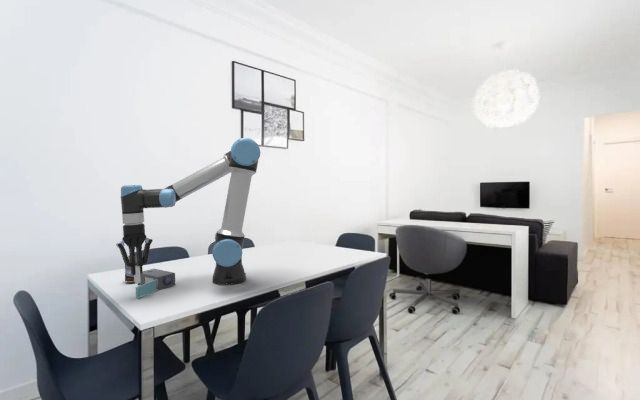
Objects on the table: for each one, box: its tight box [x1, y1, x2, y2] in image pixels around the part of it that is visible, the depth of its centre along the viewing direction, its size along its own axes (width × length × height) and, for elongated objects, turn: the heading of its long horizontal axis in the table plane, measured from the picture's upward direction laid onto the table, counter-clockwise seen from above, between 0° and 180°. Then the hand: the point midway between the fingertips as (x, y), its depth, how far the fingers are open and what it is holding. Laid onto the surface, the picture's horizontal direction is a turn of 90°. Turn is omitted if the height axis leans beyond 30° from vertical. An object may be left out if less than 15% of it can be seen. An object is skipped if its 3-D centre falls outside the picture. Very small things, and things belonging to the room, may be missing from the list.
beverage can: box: [124, 256, 138, 283], centre depth 154 cm, size 6×7×12 cm
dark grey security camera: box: [137, 268, 176, 291], centre depth 149 cm, size 17×8×6 cm, turn 58°
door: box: [135, 279, 158, 299], centre depth 135 cm, size 12×2×4 cm, turn 170°
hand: (137, 282), depth 133 cm, fingers closed
